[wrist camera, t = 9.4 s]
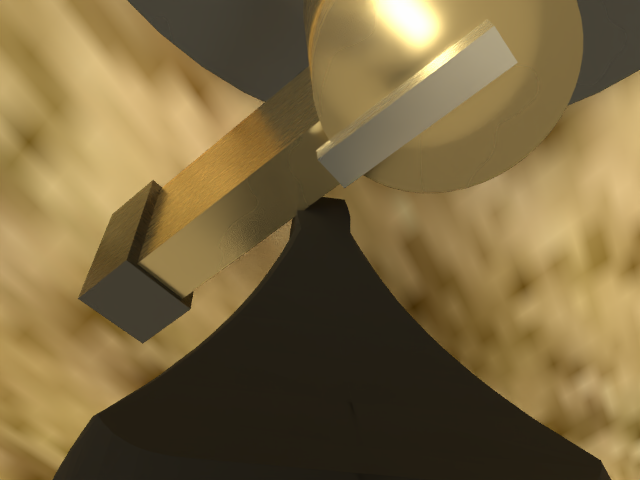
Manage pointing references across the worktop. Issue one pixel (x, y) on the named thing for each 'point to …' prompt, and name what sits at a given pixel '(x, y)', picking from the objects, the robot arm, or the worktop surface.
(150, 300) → the knob
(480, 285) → the worktop surface
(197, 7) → the level plate
